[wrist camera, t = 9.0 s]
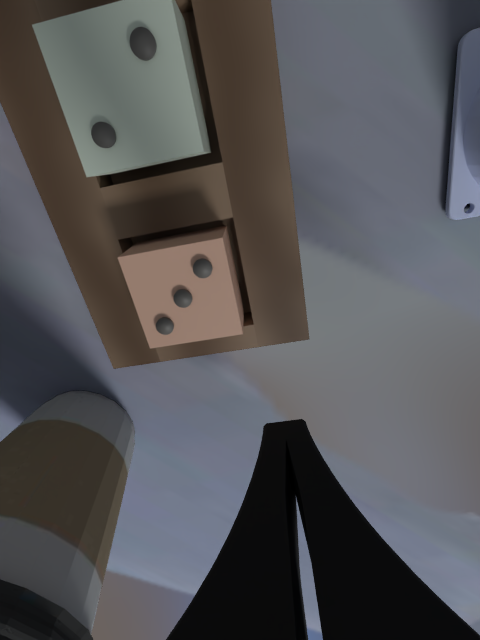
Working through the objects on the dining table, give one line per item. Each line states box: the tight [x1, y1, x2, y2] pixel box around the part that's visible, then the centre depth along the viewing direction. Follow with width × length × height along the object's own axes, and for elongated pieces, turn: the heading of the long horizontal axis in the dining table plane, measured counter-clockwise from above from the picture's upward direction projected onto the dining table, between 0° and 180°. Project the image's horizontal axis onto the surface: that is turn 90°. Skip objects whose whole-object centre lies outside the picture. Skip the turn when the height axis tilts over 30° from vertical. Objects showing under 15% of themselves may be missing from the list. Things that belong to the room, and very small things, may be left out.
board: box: [0, 0, 309, 369], centre depth 15 cm, size 12×26×2 cm, turn 11°
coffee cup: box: [0, 391, 135, 640], centre depth 19 cm, size 11×11×15 cm
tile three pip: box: [118, 225, 244, 349], centre depth 18 cm, size 5×5×3 cm
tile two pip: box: [32, 0, 211, 177], centre depth 14 cm, size 5×5×3 cm
